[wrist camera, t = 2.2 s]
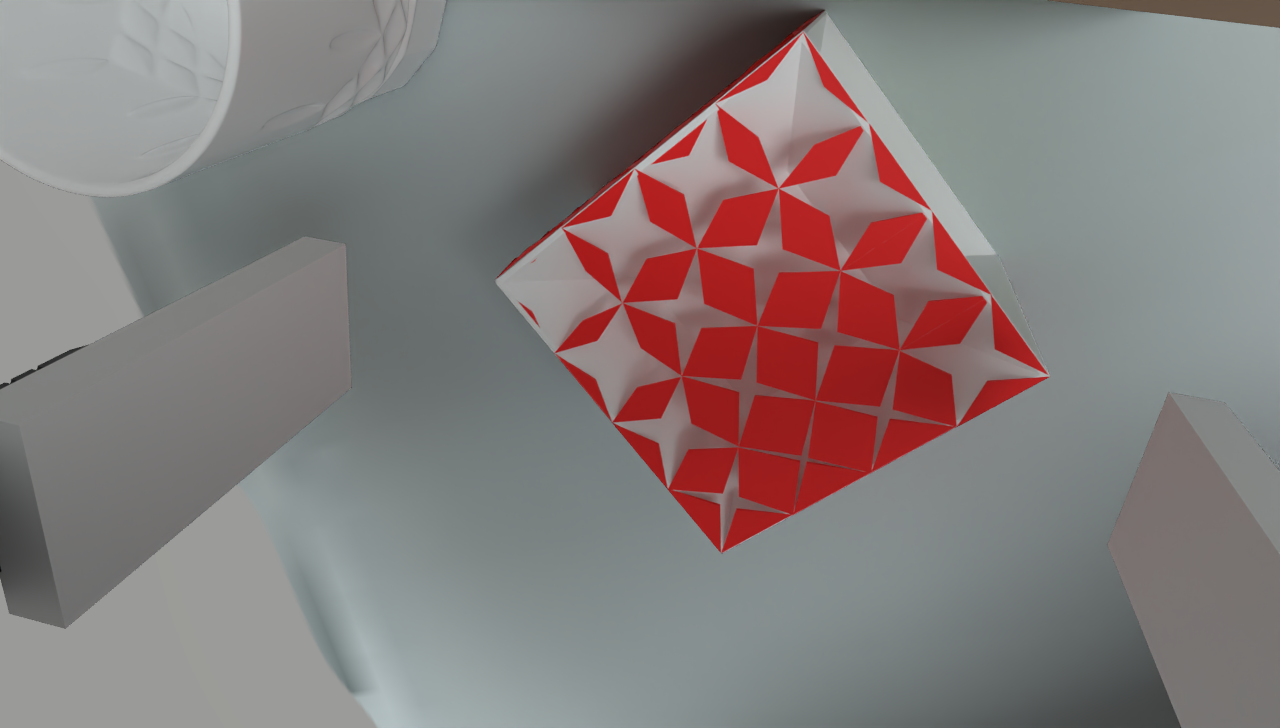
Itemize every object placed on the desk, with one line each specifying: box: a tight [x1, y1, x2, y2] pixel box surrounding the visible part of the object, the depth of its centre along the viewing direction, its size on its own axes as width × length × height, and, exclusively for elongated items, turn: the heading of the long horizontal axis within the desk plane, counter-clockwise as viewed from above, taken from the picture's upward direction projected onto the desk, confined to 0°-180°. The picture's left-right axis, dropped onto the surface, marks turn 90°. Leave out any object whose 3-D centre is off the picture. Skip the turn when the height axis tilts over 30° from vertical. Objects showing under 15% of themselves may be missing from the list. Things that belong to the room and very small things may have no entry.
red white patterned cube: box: [494, 10, 1050, 554], centre depth 21 cm, size 8×8×8 cm
